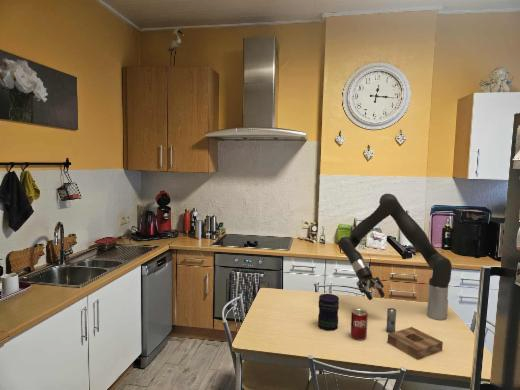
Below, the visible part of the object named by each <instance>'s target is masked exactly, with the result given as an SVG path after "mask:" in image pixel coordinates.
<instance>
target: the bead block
mask: <svg viewBox="0 0 520 390" xmlns="http://www.w3.org/2000/svg"><path fill="white" fill-rule="evenodd" d="M386 343H387V344H389V345H391V346H392V347H394V348H397V349H398V350H400V351H401V352H404V353H405V354H407V355H408V356H411V357H412V358H414V359H416V360H417V361H418V360H420V359H423V358H426V357H429V356H431V355H435V354H437V353H440V352H442V351H443V346H444V345H443V340H442V341H441V340H439V338H436V337H434V336H431V335H430V334H427V333H425V332H424V331H421V330H419V329H417V328H415V327H413V326H410V327H407V328H403V329H400V330H397V331H396V330H395V332H393V333H387V341H386Z"/></svg>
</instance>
